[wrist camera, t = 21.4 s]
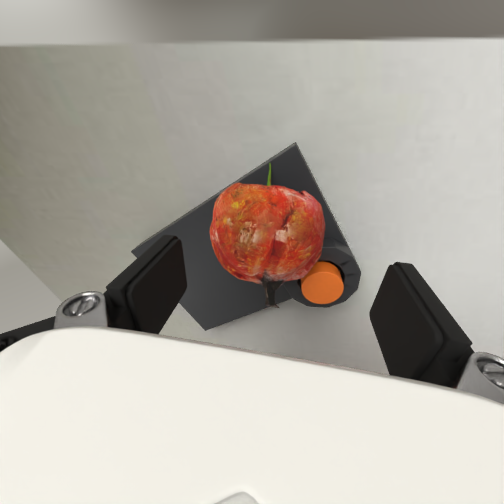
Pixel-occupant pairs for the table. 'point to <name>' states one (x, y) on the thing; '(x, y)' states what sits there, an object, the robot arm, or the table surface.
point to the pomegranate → (267, 234)
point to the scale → (240, 291)
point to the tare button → (322, 283)
